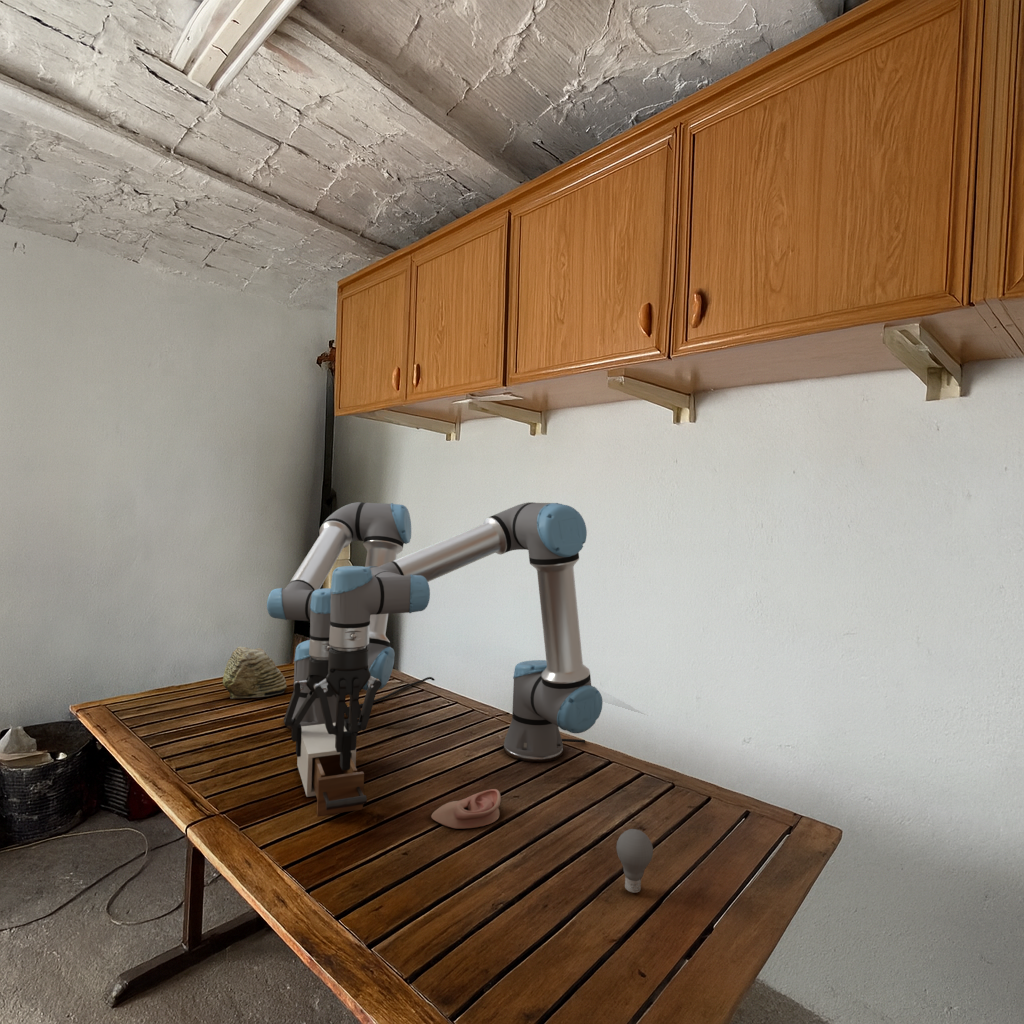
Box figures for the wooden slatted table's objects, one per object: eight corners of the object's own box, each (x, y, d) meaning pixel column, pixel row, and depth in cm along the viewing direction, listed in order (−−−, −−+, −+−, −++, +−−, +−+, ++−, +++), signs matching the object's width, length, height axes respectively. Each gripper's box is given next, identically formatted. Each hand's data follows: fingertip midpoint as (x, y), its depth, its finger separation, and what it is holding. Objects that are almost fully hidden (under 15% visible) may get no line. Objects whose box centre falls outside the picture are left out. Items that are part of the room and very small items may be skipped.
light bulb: (610, 879, 108) (613, 822, 108) (644, 879, 109) (647, 822, 109) (619, 902, 102) (622, 840, 102) (655, 901, 103) (658, 840, 103)
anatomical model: (426, 804, 124) (444, 779, 135) (425, 824, 124) (443, 798, 135) (492, 814, 121) (505, 787, 132) (491, 834, 121) (504, 806, 133)
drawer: (369, 823, 122) (370, 786, 122) (322, 831, 118) (323, 793, 118) (348, 776, 142) (349, 744, 141) (306, 782, 138) (308, 749, 138)
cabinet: (354, 789, 138) (356, 747, 137) (306, 797, 133) (308, 754, 133) (340, 759, 153) (342, 721, 153) (297, 765, 149) (298, 726, 149)
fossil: (218, 695, 195) (220, 647, 195) (278, 685, 208) (279, 640, 207) (228, 703, 189) (230, 653, 188) (289, 692, 201) (290, 645, 201)
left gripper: (275, 663, 139) (271, 764, 139) (378, 656, 148) (374, 751, 149) (272, 655, 145) (269, 751, 146) (371, 649, 155) (367, 739, 155)
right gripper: (317, 653, 117) (312, 780, 117) (387, 648, 122) (382, 769, 123) (311, 644, 123) (307, 764, 124) (378, 640, 129) (373, 755, 129)
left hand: (322, 751), depth 147 cm, fingers closed on cabinet, 10 cm apart
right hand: (344, 766), depth 123 cm, fingers closed
